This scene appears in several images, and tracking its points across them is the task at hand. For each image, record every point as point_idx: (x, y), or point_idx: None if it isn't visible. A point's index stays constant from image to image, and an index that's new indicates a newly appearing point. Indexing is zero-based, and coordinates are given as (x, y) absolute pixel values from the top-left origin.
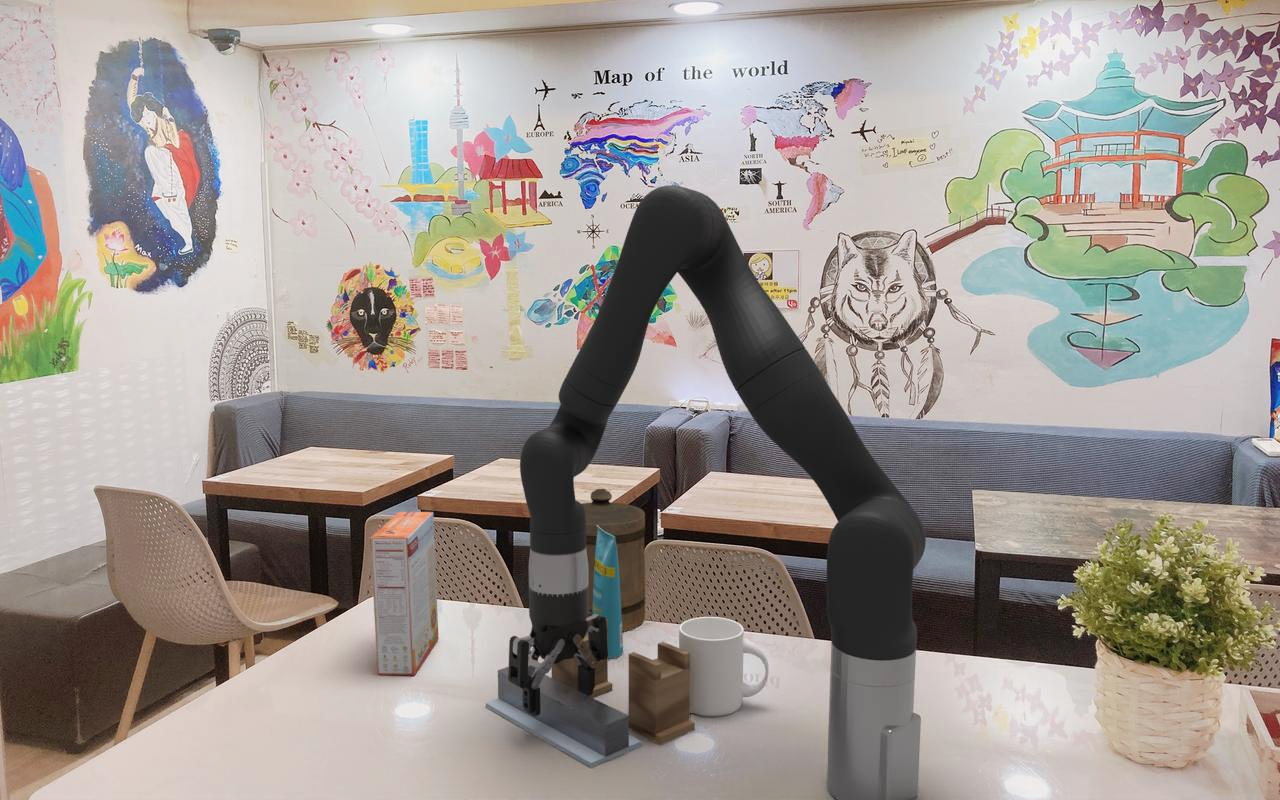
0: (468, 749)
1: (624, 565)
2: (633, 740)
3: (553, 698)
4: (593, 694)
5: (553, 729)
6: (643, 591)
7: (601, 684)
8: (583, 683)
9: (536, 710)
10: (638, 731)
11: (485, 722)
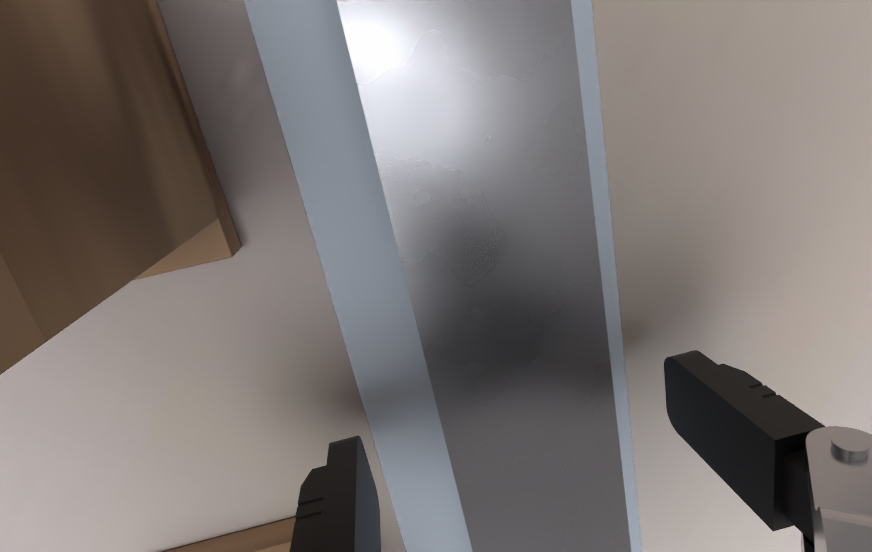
0: (846, 349)
1: None
2: (278, 31)
3: (612, 409)
4: (250, 538)
5: None
6: None
7: None
8: (368, 511)
9: (709, 360)
10: (200, 137)
11: (696, 498)
